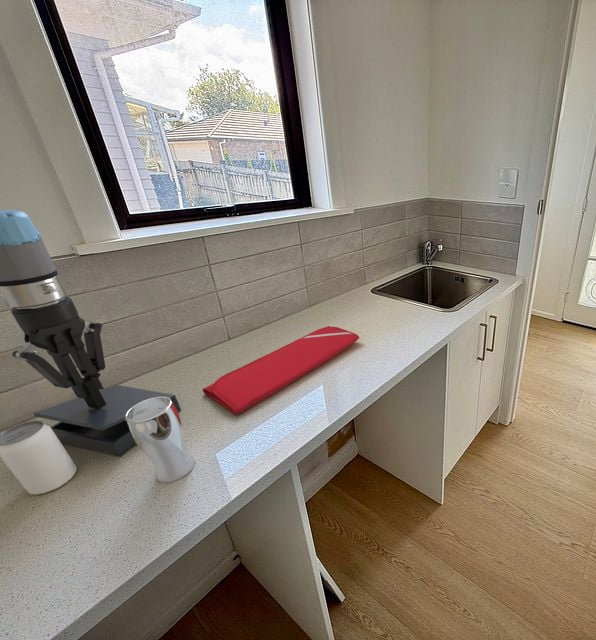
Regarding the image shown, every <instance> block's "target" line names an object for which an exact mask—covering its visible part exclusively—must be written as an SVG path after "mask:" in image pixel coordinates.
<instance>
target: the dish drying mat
mask: <svg viewBox="0 0 596 640" xmlns="http://www.w3.org/2000/svg"><path fill="white" fill-rule="evenodd" d="M359 339H360V335H359V334H357V333H355V332H352V331H350V330H346V329H344V328H342V327H341V328H340V327H338V326H330V325H328V326H325V327H324V326H323V327H321V328H318V329H316V330H314V331H311V332H310V333H308V334H306V335H304V336H303V337H302V336H301V337H300V338H298V339H296V340H293V341H292V342H290V343H288V344H286V345H284V346H282V347H279V348H278V349H275V350H274V351H272V352H270V353H267V354H265V355H263V356H261V357H259V358H257V359H255V360H253V361H251V362H249V363H246V364H245V365H243V366H241V367H239V368H236V369H234V370H231V371H230V372H228V373H225V374H224V375H221V376H220V377H219V378H217V379H216V380H215V381H214V382H213V383H211V384H209V385H208V386H206V387H203V388H202V392H203V394H204V395H205V396H207V397H208V398H210V399H211V400H213V401H214V402H215V403H218V404H219V405H220V406H221V407H223V408H224V409H226V410H227V411H228V412H230V413H231V414H232V415H234V416H237V415H238V414H241V413H242V412H244V411H246V410H248V409H250V408H251V407H253V406H254V405H256V404H258V403H259V402H261V401H262V400H265V399H266V398H268V397H269V396H271V395H273V394H275V393H277V392H278V391H279V390H281V389H283V388H284V387H286V386H288V385H290V384H291V383H293V382H295V381H296V380H298V379H300V378H301V377H303V376H305V375H306V374H308V373H309V372H310V371H313V369H315V368H317V367H319V366H320V365H322V364H324V363H325V362H327V361H329V360H330V359H332V358H333V357H336V355H338V354H339V353H341V352H343V351H344V350H346V349H348V347H351V345H353V344H354V343H356V342H357V341H358V340H359Z"/></svg>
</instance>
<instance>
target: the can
mask: <svg viewBox="0 0 596 640" xmlns="http://www.w3.org/2000/svg"><path fill="white" fill-rule="evenodd" d="M50 427H51V426H49V425H48V424H45V423H44V422H43V421H42V420H29V421H25V422H23V423H19V424H16V425H14V426H12V427H10V428H7V429H6V430H4V431H3V432H1V433H0V459H1V460H2V461H3V462H4V464H5V465H6V467H7V468H8V469H9V470H10V471H11V473H12V474H13V476H15V478H16V479H17V480H18V482H19V483H20V484H21V485H22V487H23V488H24V489H25V490H26V492H27V493H28V494H29V495H45V494H48V493H52V492H53V491H55V490H59V488H61V487H64V486H65V485H66V484H67V483H68V482H70V481H71V480H72V479H73V477H74V476H75V475H76V473H77V470H78V469H77V466H76V464H75V463H74V461H73V459H72V458H71V456H70V455H69V453H68V452H67V450H66V449H65V447H64V444H61V442H60V441H59V439H58V438H57V436H56V435H55V433H54V432H53V430H52V429H51V428H50Z"/></svg>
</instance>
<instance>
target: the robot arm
mask: <svg viewBox="0 0 596 640" xmlns="http://www.w3.org/2000/svg"><path fill="white" fill-rule="evenodd" d="M68 295H69V292H68V289H67V288H66V286H65V284H64V282H63V279H62V278H61V275H60V274H59V272H58V271H57V267H56V266H55V263H54V261H53V259H52V257H51V255H50V253H49V251H48V249H47V246H46V244H45V242H44V241H43V238H42V236H41V233H40V232H39V230H37V229H36V227H35V225H34V223H33V222H32V220H31V218H30V216H29V215H28V214H27V213H26V212H24V211H23V210H19V209H0V296H1V298H2V300H3V302H4V303H5V305H6V307H9V308H11V310H10V313H11V315H12V317H13V318H14V320H15V322H16V323H17V325H18V327H19V328H20V329H21V330H22V332H23V334H24V337H23V341H24V345H23V346H22V347H21V348H20V349H19V350H14V351H12V353H11V355H12V357H13V358H16V359H18V360H21V361H24V362H26V363H27V364H28V365H29V366H31V367H32V368H33V369H34V370H35V371H37V373H38V374H40V375H41V376H43V378H45V379H46V381H48V382H49V383H50V384H51V385H52V386H54V387H57V388H61V389H62V388H63V389H70V388H71V390H72V391H73V393H74V395H75V396H76V398H83V399H84V400H85V401H86V403H87V405H88V407H90V408H95V409H100V408H102V407H104V406H105V405H107V404H106V402H105V400H104V399H103V397H102V395H101V393H100V390H103V385H102V382H101V380H100V379H99V378H100V377H101V373H100V372H101V371H103V370H105V369H106V362H105V355H104V350H103V344H102V337H101V332H102V329H103V324H102V322H101V323H100V322H95V321H85V319H84V318H82V317H80V316H79V311H78V309H77V307H76V305H75V303H74V301H73V299H72V298H71V297H69V296H68ZM82 337H83V339H84V341H83V340H82ZM38 349H41V350H43V351H46V352H47V354H48V355H49V356H51V358H52V361H54V363H55V365H56V367H57V368H58V370H57V369H56V368H55V367H54V366H53V365H52V364H51V363H50V362H48V361H47V359H45V358H44V357H42V356H40V352H39V350H38Z"/></svg>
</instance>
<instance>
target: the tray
mask: <svg viewBox="0 0 596 640" xmlns="http://www.w3.org/2000/svg"><path fill="white" fill-rule="evenodd" d="M171 401H172V403H173V405H174V407H175V408H176V410H177V412H178V413H179V412H181V411H182V408H181V406H180V404H179V401H178V399H177V397H176V398H175V399H172V400H171ZM49 427H50V428H51V429H52V430H53V432H54V433H55V435H56V436H57V438H58V439H59V441H60V442H61V444H62V445H63V446H64V445H65V446H69V447H74V448H79V449H82V450H83V449H84V450H87V451H92V452H96V453H100V454H105V455H110V456H115V457H118V458H121V457H122V456H124V455H125V454H127V453H128V452H129V451H130V450H131V449H133V448H134V447H135V446H137V444H136V443H135V441H134V439H133V438H132V435H131V433H130V431H129V428H128V425H127V422H126V420H125V421H123V422H121V423H118V424H116V425H114V426H111V427H109V428H107V429H105V430H98V429H93V428H88V427H84V426H79V425H74V424H69V423H64V422H59V421H58V422H57V423H55V424H54V425H52V426H49Z"/></svg>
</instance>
